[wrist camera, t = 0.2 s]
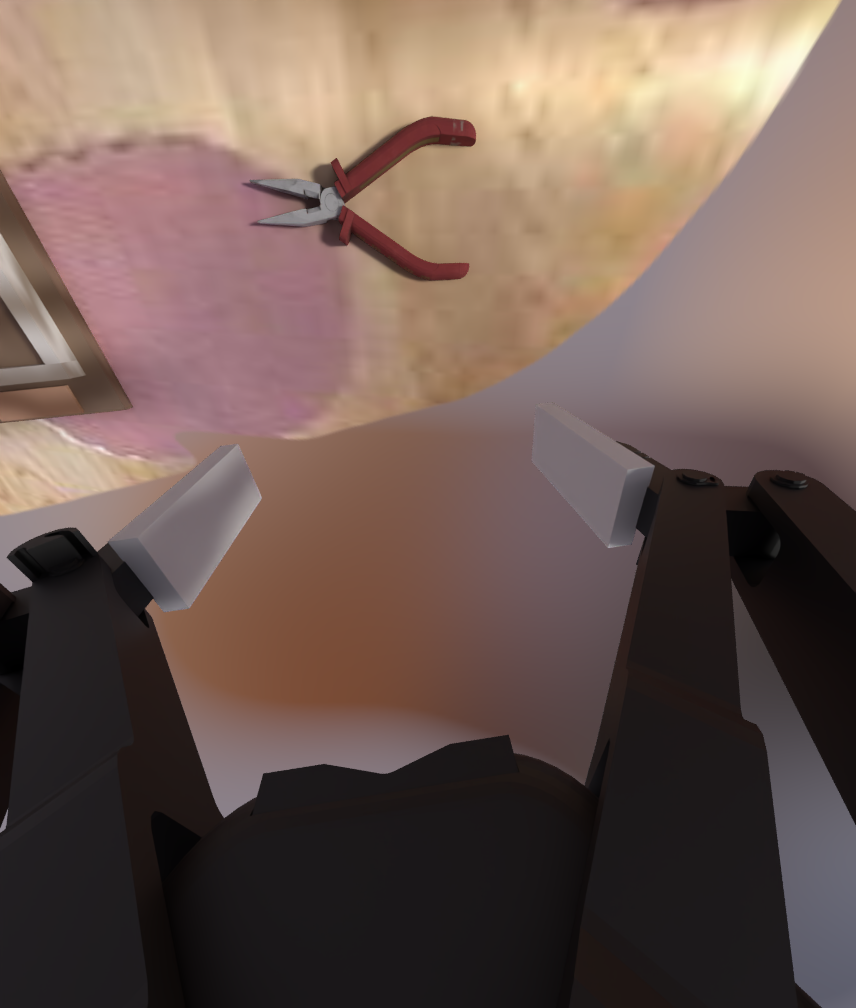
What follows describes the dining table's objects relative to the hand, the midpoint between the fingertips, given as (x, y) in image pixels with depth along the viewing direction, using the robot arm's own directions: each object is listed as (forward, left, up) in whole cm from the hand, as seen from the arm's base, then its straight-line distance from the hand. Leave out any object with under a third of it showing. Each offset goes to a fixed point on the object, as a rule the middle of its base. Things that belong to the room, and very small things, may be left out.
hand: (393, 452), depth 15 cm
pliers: (-15, 0, -28) cm, 32 cm away
